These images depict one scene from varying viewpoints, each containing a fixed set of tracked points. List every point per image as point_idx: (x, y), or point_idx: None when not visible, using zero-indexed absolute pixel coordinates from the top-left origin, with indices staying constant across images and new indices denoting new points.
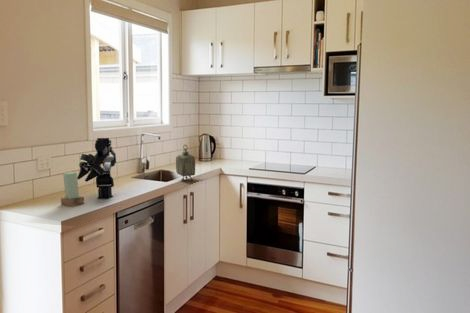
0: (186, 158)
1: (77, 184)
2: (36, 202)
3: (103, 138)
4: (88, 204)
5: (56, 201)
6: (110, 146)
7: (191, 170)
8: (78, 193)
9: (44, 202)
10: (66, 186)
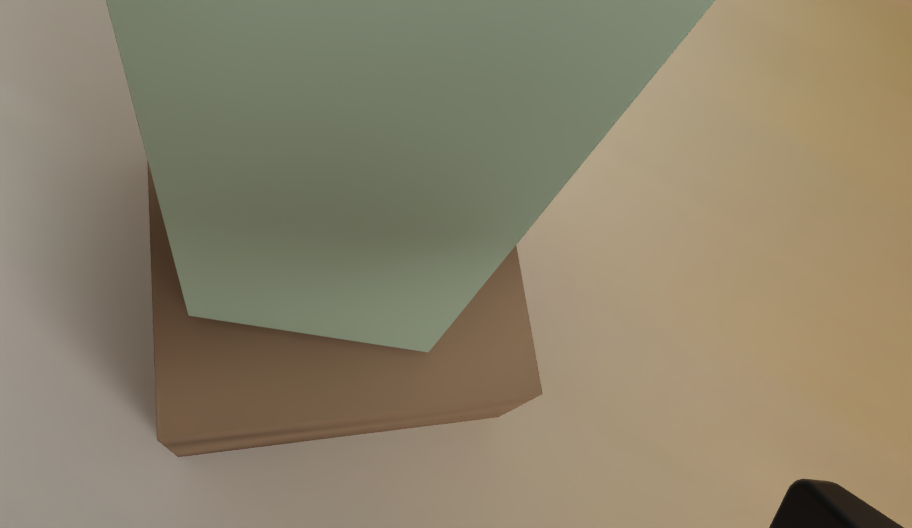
0: None
1: (149, 146)
2: (892, 43)
3: None
4: (13, 475)
5: (760, 238)
6: None
7: None
8: (179, 277)
9: (818, 100)
10: None
